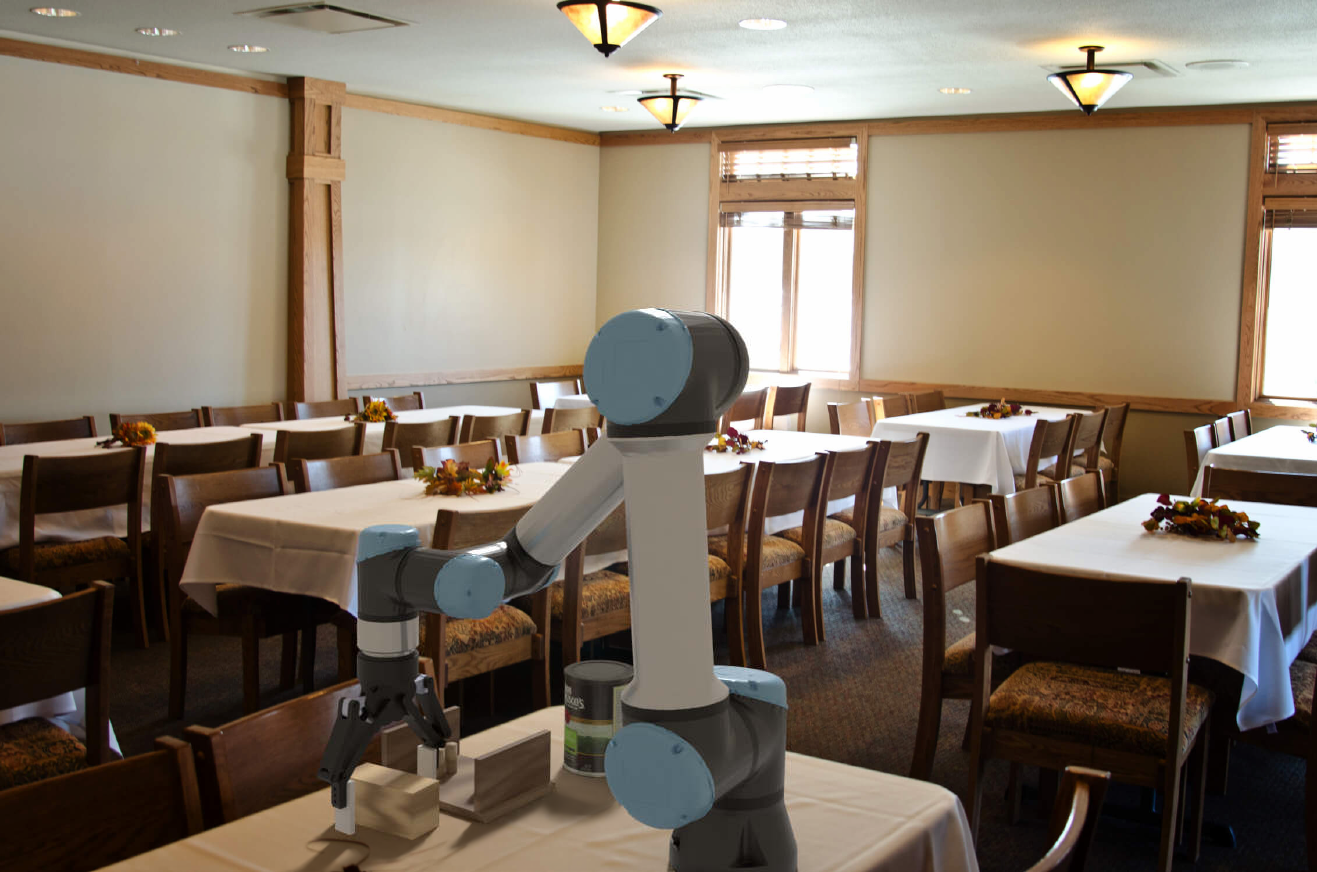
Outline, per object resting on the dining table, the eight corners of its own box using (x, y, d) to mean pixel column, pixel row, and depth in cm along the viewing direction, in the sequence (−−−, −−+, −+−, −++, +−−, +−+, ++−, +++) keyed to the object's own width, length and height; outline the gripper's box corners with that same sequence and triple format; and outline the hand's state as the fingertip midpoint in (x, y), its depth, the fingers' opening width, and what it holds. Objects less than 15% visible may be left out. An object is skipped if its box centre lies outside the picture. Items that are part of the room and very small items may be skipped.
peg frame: (555, 789, 161) (556, 732, 160) (485, 823, 149) (486, 761, 148) (449, 757, 172) (449, 704, 171) (376, 787, 160) (376, 729, 160)
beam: (439, 826, 148) (439, 780, 148) (412, 841, 144) (412, 793, 143) (367, 807, 154) (366, 762, 153) (339, 820, 150) (339, 774, 149)
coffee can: (578, 782, 163) (579, 682, 162) (553, 757, 173) (554, 663, 171) (645, 771, 168) (647, 675, 167) (617, 748, 177) (619, 656, 176)
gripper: (438, 624, 159) (437, 775, 161) (286, 665, 139) (286, 838, 141) (479, 633, 155) (477, 789, 157) (328, 677, 134) (328, 856, 136)
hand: (387, 813), depth 149 cm, fingers open, 13 cm apart
